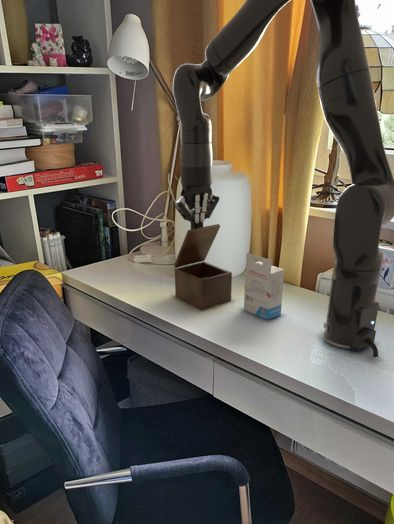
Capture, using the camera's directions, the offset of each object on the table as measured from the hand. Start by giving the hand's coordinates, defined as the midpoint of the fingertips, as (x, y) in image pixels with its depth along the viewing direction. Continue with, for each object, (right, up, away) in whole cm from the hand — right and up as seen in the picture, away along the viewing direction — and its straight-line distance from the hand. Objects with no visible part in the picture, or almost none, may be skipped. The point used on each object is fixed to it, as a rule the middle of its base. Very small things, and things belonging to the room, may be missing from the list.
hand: (197, 236), depth 120 cm
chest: (+2, -15, +6) cm, 16 cm away
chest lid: (0, -2, +1) cm, 3 cm away
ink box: (+16, -19, -2) cm, 25 cm away
